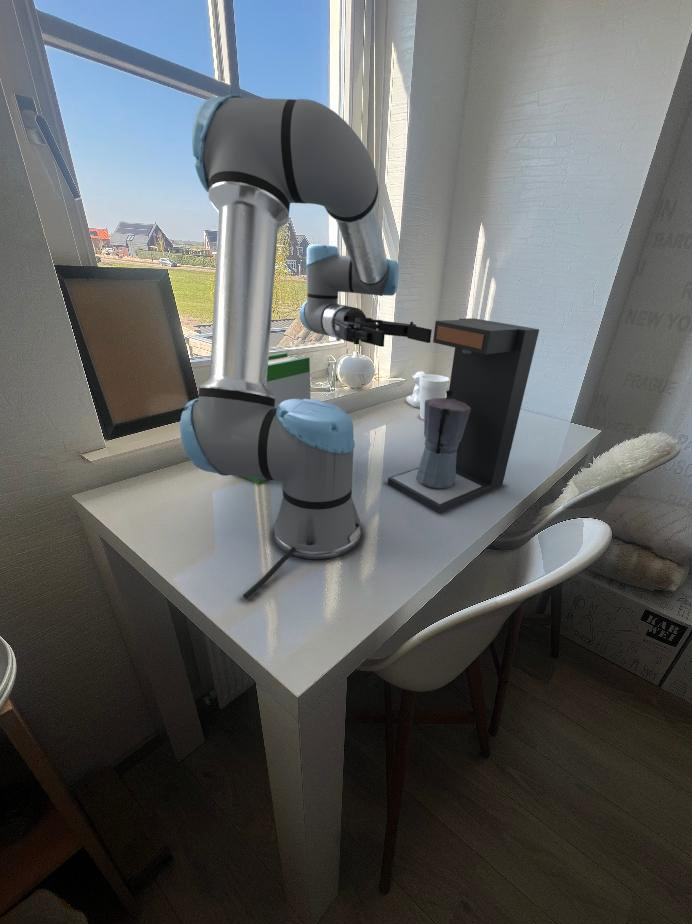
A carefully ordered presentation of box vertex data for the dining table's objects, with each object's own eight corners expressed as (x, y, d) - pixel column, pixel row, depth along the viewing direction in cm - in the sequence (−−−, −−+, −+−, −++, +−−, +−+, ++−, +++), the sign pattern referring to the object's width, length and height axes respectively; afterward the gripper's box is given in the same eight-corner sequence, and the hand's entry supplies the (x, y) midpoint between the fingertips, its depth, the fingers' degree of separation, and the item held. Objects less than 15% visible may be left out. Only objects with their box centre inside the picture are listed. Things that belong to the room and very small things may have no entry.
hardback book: (289, 451, 107) (284, 352, 95) (311, 458, 104) (309, 357, 92) (235, 474, 94) (220, 363, 82) (258, 483, 91) (247, 369, 79)
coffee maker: (439, 513, 85) (468, 334, 68) (387, 483, 95) (400, 320, 78) (502, 485, 98) (539, 329, 81) (450, 462, 108) (473, 318, 91)
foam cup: (411, 413, 141) (415, 374, 134) (436, 413, 144) (441, 374, 137) (422, 423, 133) (426, 381, 127) (448, 422, 136) (454, 381, 129)
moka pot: (458, 470, 99) (473, 385, 89) (457, 501, 86) (474, 405, 76) (418, 465, 100) (428, 380, 90) (411, 494, 87) (422, 399, 77)
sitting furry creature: (431, 403, 154) (436, 369, 147) (431, 410, 146) (436, 375, 140) (406, 400, 154) (409, 367, 148) (404, 407, 147) (408, 372, 141)
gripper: (383, 337, 109) (444, 352, 96) (301, 342, 94) (359, 361, 81) (385, 305, 105) (449, 316, 92) (299, 306, 91) (361, 319, 77)
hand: (407, 337), depth 87 cm, fingers open, 13 cm apart
